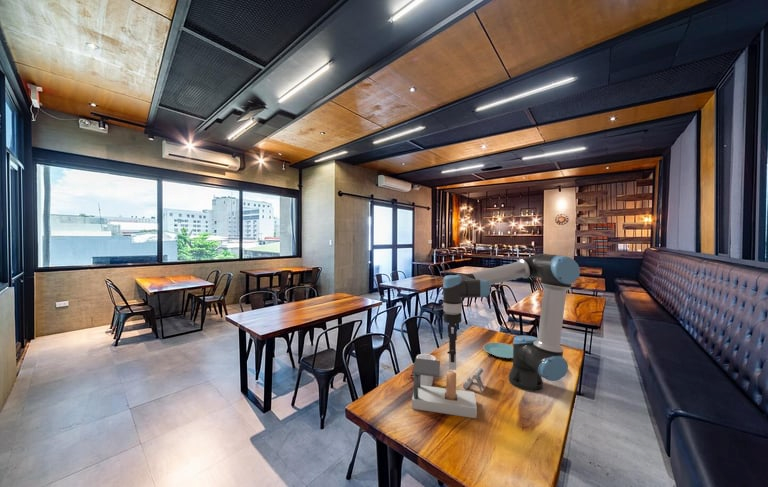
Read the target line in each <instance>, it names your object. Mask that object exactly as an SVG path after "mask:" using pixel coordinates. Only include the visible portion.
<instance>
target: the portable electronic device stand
mask: <svg viewBox="0 0 768 487" xmlns="http://www.w3.org/2000/svg"><path fill="white" fill-rule="evenodd" d="M483 372H484V369H483V368H482V367H478V369H477V370H476V372H475V373H474V374H473V375H472V378H471V376H469V377H468V378H467V380H466V381H464V383H463V386H462V387H463V389H465V390H467V389H468V388H469V387H470V385H471V384H472V383H473V381H474V380H475V381H476V383H477V385H478V386H477V387H478V389H479V391H480V392H482V391H483V389H485V386H484V383H483V381H482V379H481V374H482V373H483Z"/></svg>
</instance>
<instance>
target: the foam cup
mask: <svg viewBox="0 0 768 487" xmlns="http://www.w3.org/2000/svg"><path fill="white" fill-rule="evenodd" d="M416 358H418V359H427V360H436V359H437V358H436V356H435V355H432V354H430V353H429V354H428V353H420V354H417V355H416V357H415V359H416ZM436 361H437V360H436ZM433 381H434V377H433V376H425V375H421V385H424V386H431V387H433Z"/></svg>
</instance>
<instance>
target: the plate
mask: <svg viewBox="0 0 768 487" xmlns="http://www.w3.org/2000/svg"><path fill="white" fill-rule="evenodd" d="M482 349H483V350H484V351H485V352H486V353H488V354H489V355H491V354H492V355H491V356H493V355H494V356H493V357H495V356H496V358H498V357H499V358H498V359H504V358H506V360H510V358H511V359H513V344H512V345H511V344H509V343H502V342H488V343H484V345H483V347H482Z"/></svg>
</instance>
